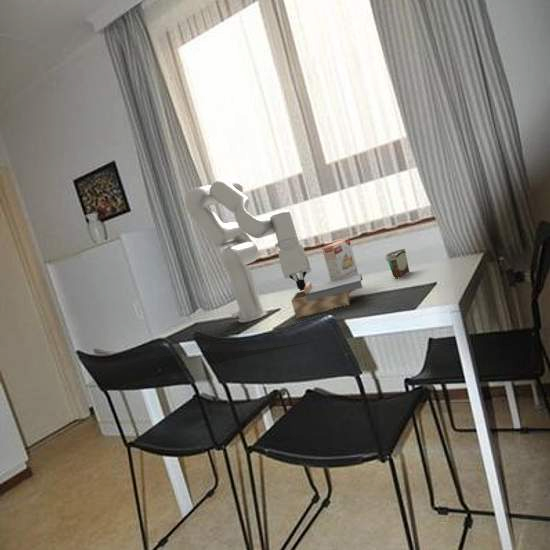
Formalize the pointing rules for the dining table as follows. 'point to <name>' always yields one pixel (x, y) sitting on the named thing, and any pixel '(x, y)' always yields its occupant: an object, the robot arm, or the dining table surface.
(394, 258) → the food container
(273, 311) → the dining table surface
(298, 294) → the box
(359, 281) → the lid
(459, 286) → the dining table surface
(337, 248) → the cracker box
